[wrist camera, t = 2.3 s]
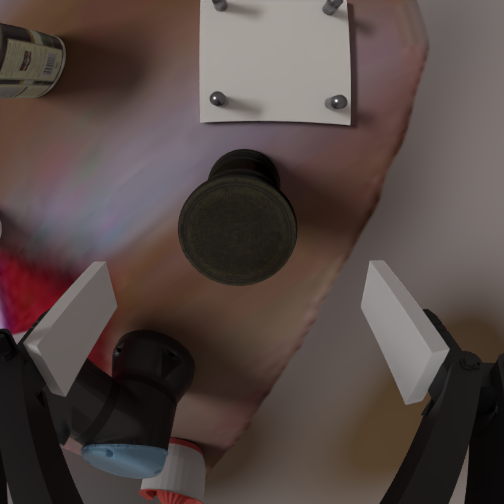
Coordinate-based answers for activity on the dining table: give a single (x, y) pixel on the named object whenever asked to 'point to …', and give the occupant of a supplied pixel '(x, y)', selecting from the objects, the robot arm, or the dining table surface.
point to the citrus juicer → (178, 476)
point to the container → (238, 221)
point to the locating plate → (275, 61)
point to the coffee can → (29, 62)
